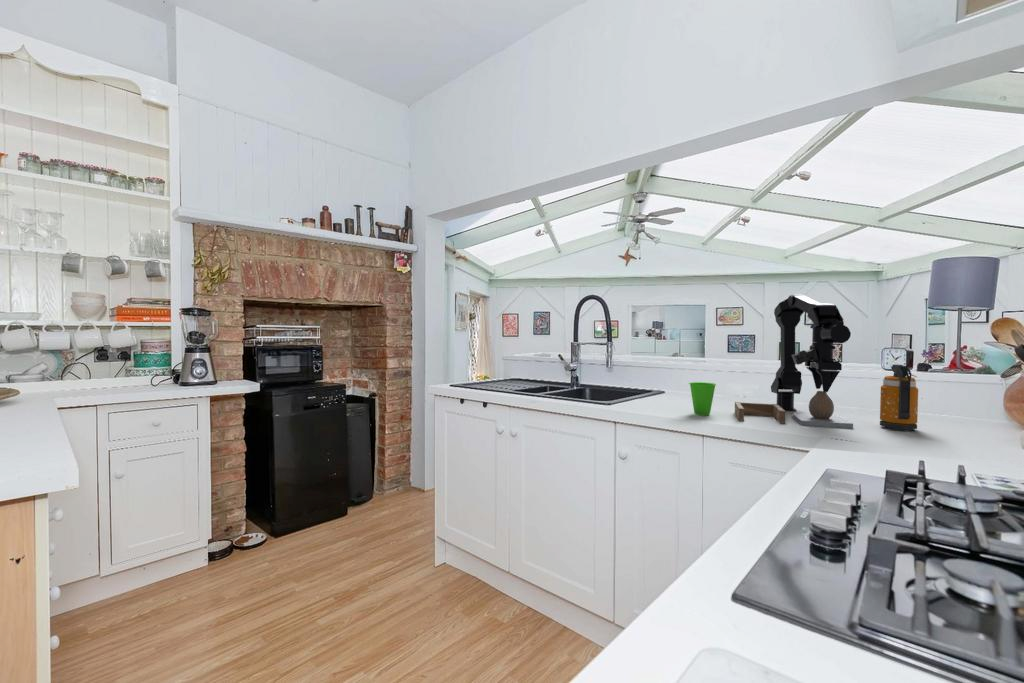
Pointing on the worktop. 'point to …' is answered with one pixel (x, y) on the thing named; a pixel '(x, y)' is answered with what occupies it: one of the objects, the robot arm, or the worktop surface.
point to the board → (822, 421)
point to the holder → (759, 410)
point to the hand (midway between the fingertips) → (821, 390)
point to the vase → (821, 406)
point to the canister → (899, 400)
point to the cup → (702, 397)
